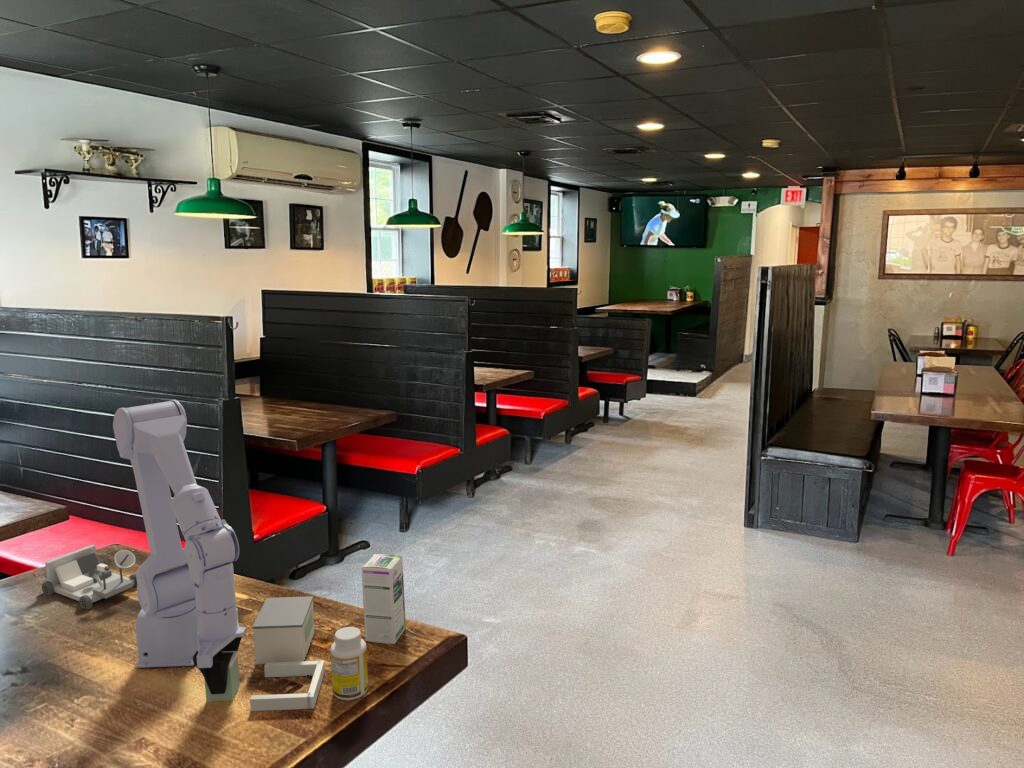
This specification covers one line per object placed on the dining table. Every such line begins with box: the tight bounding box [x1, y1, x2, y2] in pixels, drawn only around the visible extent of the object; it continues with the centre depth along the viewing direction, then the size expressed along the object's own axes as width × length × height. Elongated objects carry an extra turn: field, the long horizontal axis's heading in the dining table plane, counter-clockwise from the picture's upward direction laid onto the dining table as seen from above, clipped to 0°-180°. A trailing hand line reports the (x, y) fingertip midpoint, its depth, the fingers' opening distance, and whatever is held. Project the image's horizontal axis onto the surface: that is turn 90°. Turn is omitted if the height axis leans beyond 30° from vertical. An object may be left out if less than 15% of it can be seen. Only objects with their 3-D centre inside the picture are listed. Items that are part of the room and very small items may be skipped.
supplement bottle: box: [330, 626, 369, 701], centre depth 120 cm, size 6×6×10 cm
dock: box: [249, 660, 326, 712], centre depth 121 cm, size 10×10×2 cm
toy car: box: [41, 544, 137, 611], centre depth 154 cm, size 18×10×12 cm
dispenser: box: [251, 596, 315, 665], centre depth 133 cm, size 8×10×7 cm
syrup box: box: [360, 553, 407, 645], centre depth 136 cm, size 6×6×14 cm
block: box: [203, 650, 241, 703], centre depth 120 cm, size 4×4×6 cm
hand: (222, 684), depth 120 cm, fingers closed on block, 4 cm apart
